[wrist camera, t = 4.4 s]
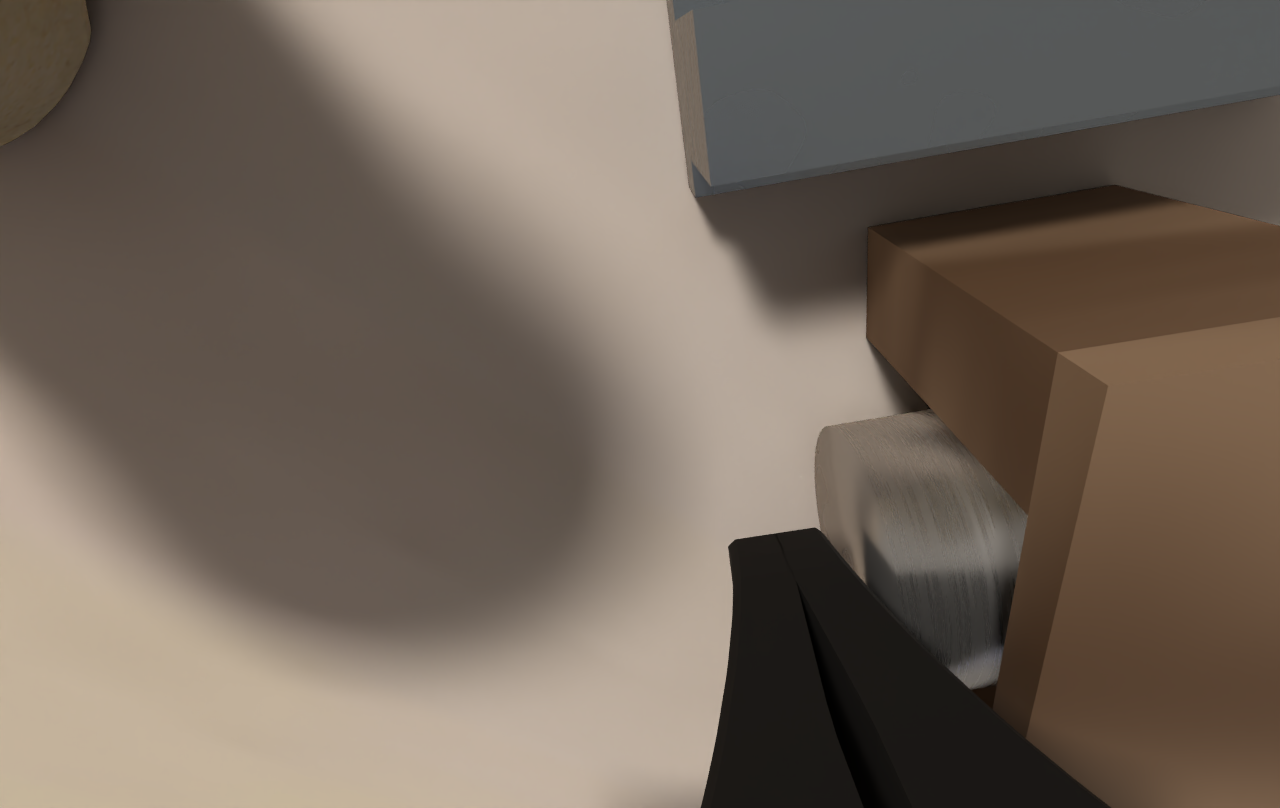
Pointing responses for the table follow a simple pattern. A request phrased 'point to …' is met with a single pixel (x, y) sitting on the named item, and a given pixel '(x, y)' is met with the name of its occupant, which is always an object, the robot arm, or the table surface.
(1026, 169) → the table surface
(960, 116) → the v block
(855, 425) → the grey metal cylinder
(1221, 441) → the brown wooden u-shaped block
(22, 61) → the flower pot
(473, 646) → the table surface
